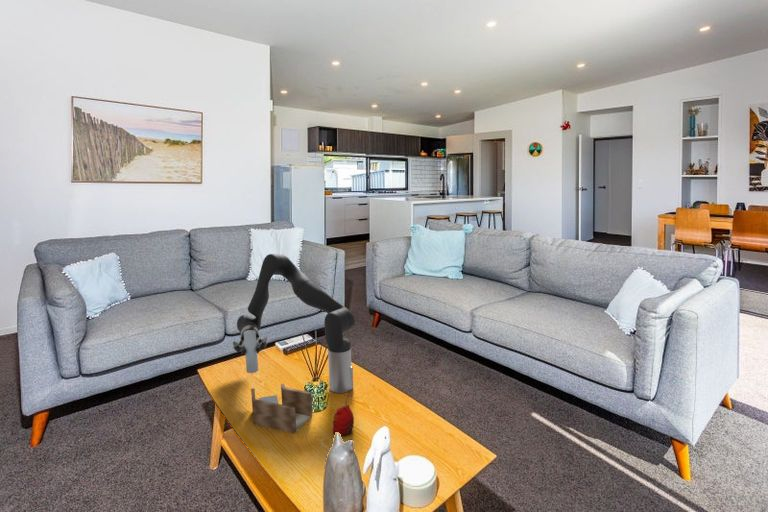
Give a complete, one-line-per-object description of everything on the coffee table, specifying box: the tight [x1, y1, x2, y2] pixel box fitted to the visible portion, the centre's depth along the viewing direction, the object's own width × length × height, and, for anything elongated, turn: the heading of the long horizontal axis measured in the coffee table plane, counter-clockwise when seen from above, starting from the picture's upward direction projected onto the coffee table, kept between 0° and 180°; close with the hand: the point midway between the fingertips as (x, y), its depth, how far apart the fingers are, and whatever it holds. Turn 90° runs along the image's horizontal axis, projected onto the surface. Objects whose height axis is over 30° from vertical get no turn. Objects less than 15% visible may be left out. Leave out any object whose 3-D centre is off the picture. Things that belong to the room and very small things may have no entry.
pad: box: [258, 394, 279, 404], centre depth 162 cm, size 7×7×1 cm
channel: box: [250, 383, 313, 435], centre depth 149 cm, size 20×20×9 cm
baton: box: [244, 330, 259, 374], centre depth 163 cm, size 4×4×16 cm
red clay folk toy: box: [332, 392, 355, 436], centre depth 141 cm, size 8×7×15 cm
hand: (251, 351), depth 161 cm, fingers closed on baton, 4 cm apart
